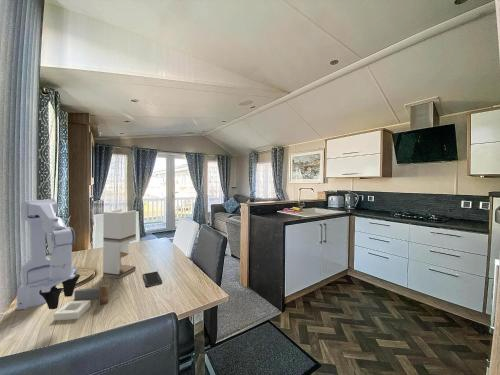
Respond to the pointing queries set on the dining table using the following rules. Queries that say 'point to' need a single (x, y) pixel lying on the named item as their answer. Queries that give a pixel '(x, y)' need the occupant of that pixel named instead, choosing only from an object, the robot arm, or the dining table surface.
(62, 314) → the holed block
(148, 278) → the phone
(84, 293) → the base board
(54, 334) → the dining table surface
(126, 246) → the white tower
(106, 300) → the dowel
